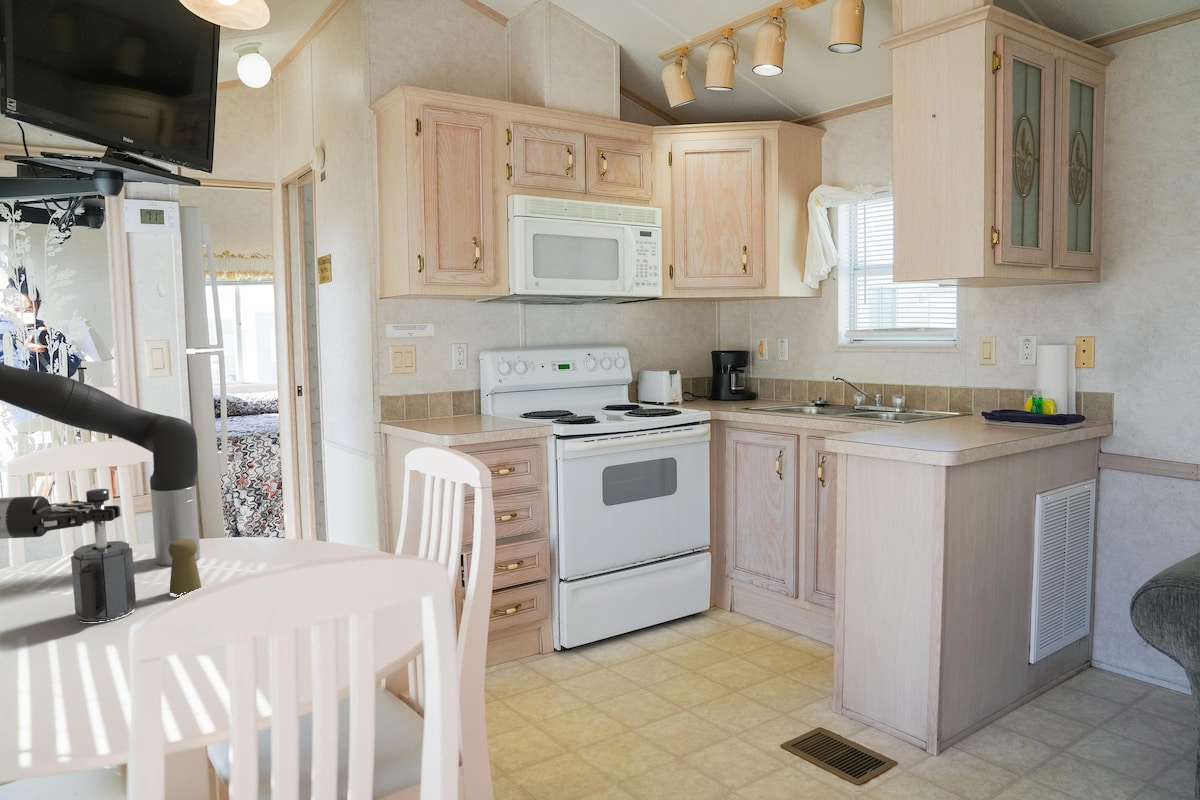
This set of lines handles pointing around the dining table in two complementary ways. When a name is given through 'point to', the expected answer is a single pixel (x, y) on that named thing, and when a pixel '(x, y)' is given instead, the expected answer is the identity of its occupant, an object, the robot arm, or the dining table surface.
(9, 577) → the dining table surface
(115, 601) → the coffee press
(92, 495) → the plunger
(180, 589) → the cork
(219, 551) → the dining table surface
